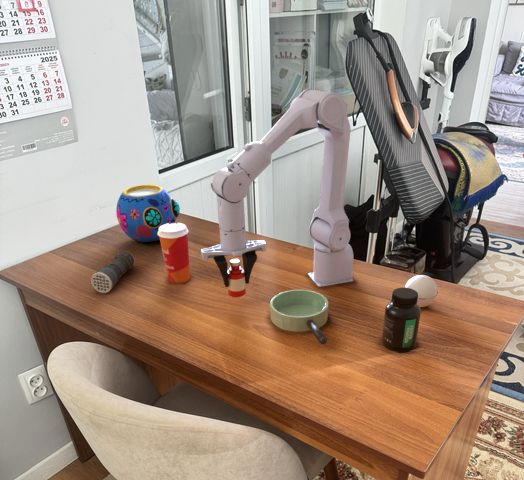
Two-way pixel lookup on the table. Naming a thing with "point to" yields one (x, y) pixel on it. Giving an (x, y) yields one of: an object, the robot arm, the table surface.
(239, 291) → the sauce bottle
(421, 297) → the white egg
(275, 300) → the pan
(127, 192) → the ceramic pot
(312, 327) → the pan handle
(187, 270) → the paper cup
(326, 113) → the robot arm
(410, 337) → the supplement bottle
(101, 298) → the table surface
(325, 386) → the table surface
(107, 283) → the flashlight
